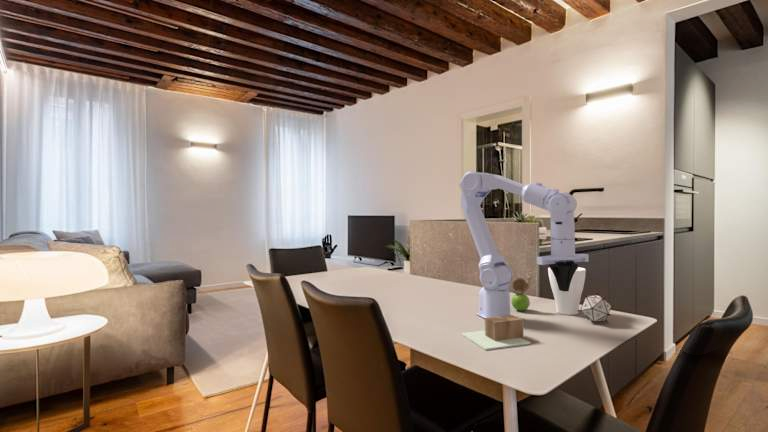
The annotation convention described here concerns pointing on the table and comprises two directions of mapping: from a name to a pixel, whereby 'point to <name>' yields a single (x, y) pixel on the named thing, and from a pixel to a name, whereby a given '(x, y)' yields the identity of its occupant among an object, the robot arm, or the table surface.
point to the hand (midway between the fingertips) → (563, 290)
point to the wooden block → (504, 327)
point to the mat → (492, 341)
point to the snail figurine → (521, 293)
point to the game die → (596, 308)
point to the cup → (568, 292)
